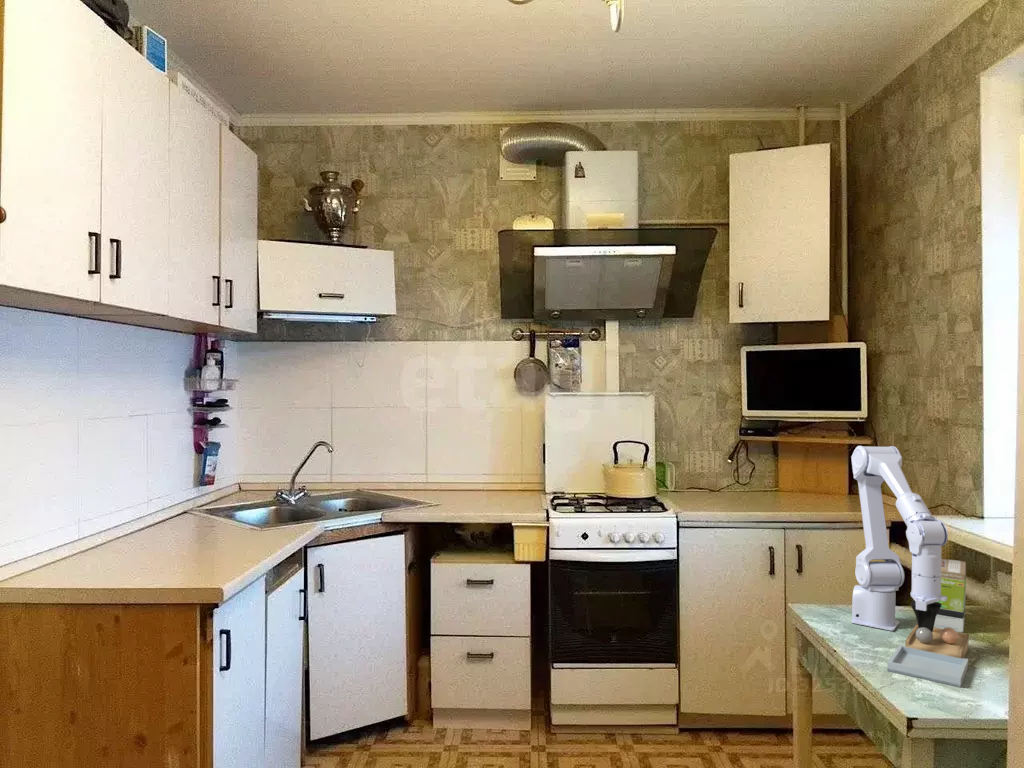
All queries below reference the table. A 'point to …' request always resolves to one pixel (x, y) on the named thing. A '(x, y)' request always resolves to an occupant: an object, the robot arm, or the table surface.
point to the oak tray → (940, 644)
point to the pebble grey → (924, 635)
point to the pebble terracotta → (949, 635)
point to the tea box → (952, 595)
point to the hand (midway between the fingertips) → (925, 635)
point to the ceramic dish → (928, 666)
